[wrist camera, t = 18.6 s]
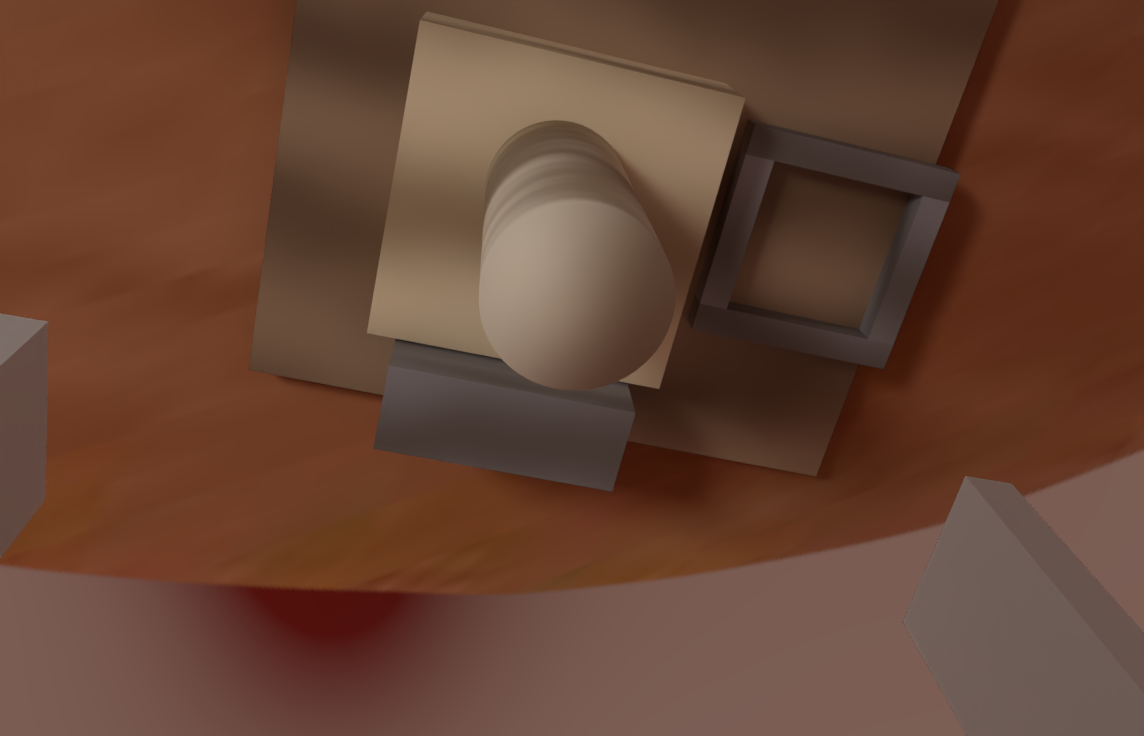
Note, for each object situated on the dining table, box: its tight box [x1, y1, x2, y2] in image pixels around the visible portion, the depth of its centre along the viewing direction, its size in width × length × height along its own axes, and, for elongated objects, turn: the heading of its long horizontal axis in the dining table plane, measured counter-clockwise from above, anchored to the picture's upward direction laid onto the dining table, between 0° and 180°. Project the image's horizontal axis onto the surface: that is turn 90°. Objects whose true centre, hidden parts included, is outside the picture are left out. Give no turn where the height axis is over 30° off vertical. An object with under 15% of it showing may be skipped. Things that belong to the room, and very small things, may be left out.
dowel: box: [479, 120, 676, 390], centre depth 27 cm, size 4×4×10 cm
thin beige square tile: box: [367, 11, 745, 389], centre depth 33 cm, size 10×10×3 cm
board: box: [249, 0, 999, 491], centre depth 33 cm, size 22×22×6 cm
